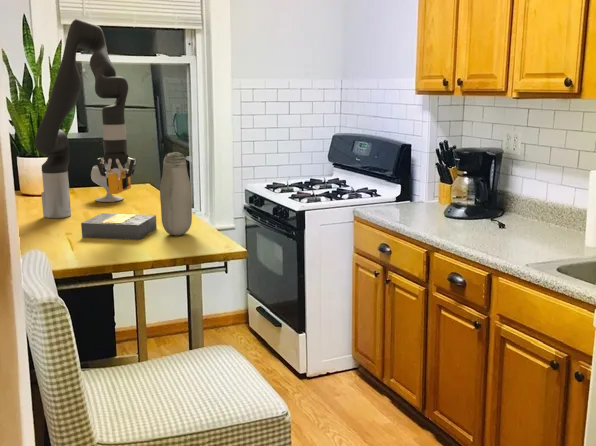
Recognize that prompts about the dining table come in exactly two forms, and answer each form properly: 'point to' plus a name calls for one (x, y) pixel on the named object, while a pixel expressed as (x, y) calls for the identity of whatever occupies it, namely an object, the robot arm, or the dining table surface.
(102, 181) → the chalice
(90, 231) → the steel riser
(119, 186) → the pipe clamp
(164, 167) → the grey bottle
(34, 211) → the dining table surface
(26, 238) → the dining table surface
